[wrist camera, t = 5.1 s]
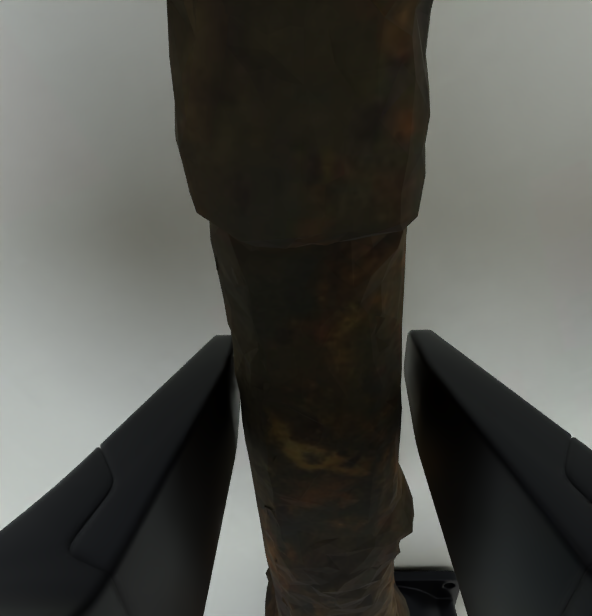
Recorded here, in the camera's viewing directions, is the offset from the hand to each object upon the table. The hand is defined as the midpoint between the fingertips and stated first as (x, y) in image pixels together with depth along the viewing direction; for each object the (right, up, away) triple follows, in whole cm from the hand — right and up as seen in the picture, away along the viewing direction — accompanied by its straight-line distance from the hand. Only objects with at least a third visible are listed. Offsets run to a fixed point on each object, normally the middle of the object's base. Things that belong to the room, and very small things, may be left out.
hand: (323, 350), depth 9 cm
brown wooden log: (-1, +1, +2) cm, 2 cm away
